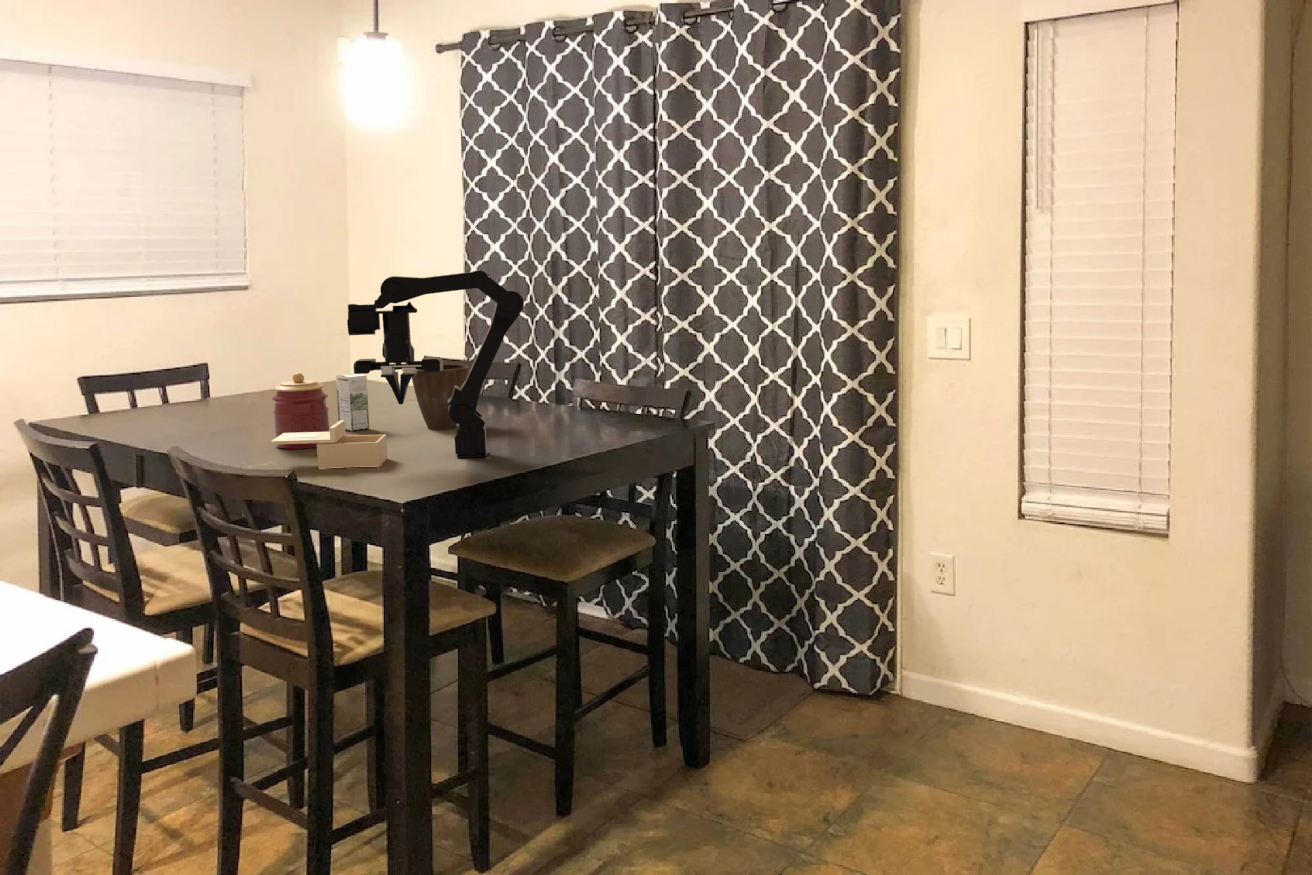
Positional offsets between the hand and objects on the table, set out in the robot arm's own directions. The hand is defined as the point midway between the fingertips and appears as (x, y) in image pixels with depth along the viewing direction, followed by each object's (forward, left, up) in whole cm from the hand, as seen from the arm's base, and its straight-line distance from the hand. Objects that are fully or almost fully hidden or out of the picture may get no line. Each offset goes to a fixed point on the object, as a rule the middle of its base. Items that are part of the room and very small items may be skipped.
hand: (401, 404), depth 244 cm
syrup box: (+20, -44, -13) cm, 50 cm away
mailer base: (+10, +3, -12) cm, 17 cm away
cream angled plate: (+20, +3, -7) cm, 21 cm away
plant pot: (-3, -43, -13) cm, 45 cm away
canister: (+28, -23, -13) cm, 38 cm away
